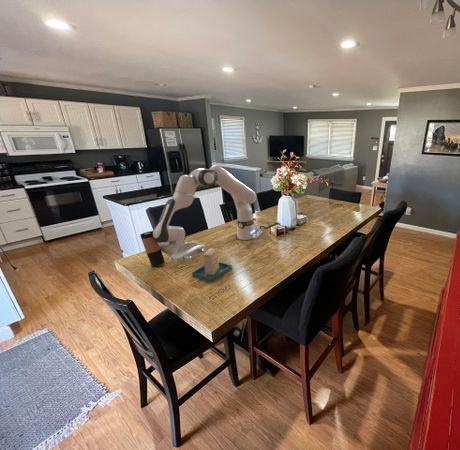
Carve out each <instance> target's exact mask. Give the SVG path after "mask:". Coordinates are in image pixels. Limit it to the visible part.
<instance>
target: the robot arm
mask: <svg viewBox="0 0 460 450" xmlns="http://www.w3.org/2000/svg"><path fill="white" fill-rule="evenodd" d="M214 184H217V186H218V187H220V188H221V189H223V190H224V191H226V192H227V193H228V194H230V196H231V197H232V199H233V202H234V205H235V208H236V215H237V221H236V223H237V226H236V227H237V228H236V230H237V231H236V238H237V239H238V240H241V241H243V240H244V241H247V240H256V239H258V238H259V237H260V236H261V235H262V234H263V233H264V230H263V229H269V228H272V227H273V226H275V225H277V224H278V223H277V222H278V221H276V222H274V223H273V224H271V225H269V226H264V225H261V224H258V223H256V221H257V218H256V217H253V209H252V207H251V204H254V203H255V202H256V200H257V193H256V192H255V191H254V190H252V189H251V188H250V187H248V186H247V185H245V184H244V183H243V182H241V181H240V180H238V179H237V178H236V177H235V176H233V175H232V174H231V173H230V172H229V171H227V170H226V169H225V168H223V167H221V166H220V165H218V164H213V165H211V166H210V167H209V168H201V167H200V168H194V169H192V170H191V171H190V172H189V173H188V174H183V175H180V176H179V179H178V180H177V183H176V185H175V189H174V193H173V195H172V197H170V198H169V199H167V200H166V203H165V204H164V207H163V210H162V211H161V214H160V215H159V219H158V221H157V223H156V225H155V227H154V228H153V230H152V231H153V237H154V239H155V240H156V241H157V242H159V245H160V248H161V251H162V253H164V254H166V255H168V260H170V261H172V262H174V263H176V264H182V263H183V262H185V261H193V260H194V257H195V256H197V255H199V254H200V253H201V254H202V255H203V254H204V253H205V252H206V251H207V250H206V245H205V244H204V243H201V242H195V241H193V240H191V241H187V242H185V240H186V236H187V233H186V230H185V228H183V226H176V225H170V222H171V220H172V217H173V215H174V213H175V212H177V211H178V210H181V209H185V208H189V207H190V206H191V205H192V204H193V202H194V199H195V195H196V190H197V188H198V187H199V186H200V187H210V186H212V185H214ZM301 214H302V212H299V213H298V215H301ZM262 228H263V229H262Z"/></svg>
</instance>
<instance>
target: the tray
mask: <svg viewBox="0 0 460 450" xmlns="http://www.w3.org/2000/svg"><path fill="white" fill-rule="evenodd" d="M232 269H233V265H232V264H228V263H226V262H222V261H219V269H218V270H217V272H216V273H215V274H214V275H213V276H211V275H206V273H205V265H204V264H203V266H200V267H199V268H197V269H196V270H194V271H192V272H191V275H192V277H193V278H196V279H199V280H202V281H205V282H208V283H213V282H215V281H217V280H218V279H219V278H221V277H223V276H224V275H225V274H227V273H229V272H230V271H231V270H232Z"/></svg>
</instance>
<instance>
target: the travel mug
mask: <svg viewBox="0 0 460 450" xmlns="http://www.w3.org/2000/svg"><path fill="white" fill-rule="evenodd" d="M139 235H140V239H141V242H142V245H143V247H144V251H145V253H146V255H147V258H148V261H149V263H150V266H151V267H159V266H161V265H163V264H165V258H164V255H163V252H162V251H161V248H160V243H159V242H157V241H156V240H155V239H154V237H153V230H150V231H146V232H143V233H140V234H139Z"/></svg>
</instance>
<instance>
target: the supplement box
mask: <svg viewBox="0 0 460 450" xmlns="http://www.w3.org/2000/svg"><path fill="white" fill-rule="evenodd" d="M218 254H219V253H218V248H208V249H207V250H206V252H205V253H204V254H203V253H202V259H203V266H204V265H205V273H206V275H211V276H213V275H214V274H215V273H216V272H217V270H218V269H219V262H220V261H219V255H218Z"/></svg>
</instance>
